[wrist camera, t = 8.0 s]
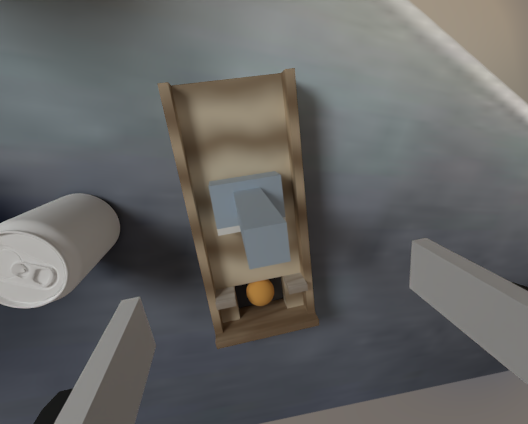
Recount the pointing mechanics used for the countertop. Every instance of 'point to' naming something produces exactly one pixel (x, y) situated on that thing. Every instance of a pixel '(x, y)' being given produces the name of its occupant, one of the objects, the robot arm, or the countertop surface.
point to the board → (236, 165)
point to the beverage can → (53, 248)
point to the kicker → (253, 215)
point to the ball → (260, 292)
